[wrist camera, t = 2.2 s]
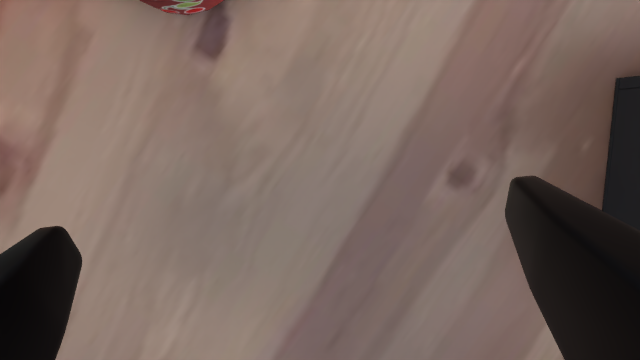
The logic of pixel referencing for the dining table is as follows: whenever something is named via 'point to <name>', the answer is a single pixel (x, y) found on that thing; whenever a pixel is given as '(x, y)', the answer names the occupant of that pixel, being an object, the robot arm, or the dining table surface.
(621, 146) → the crate
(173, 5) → the smoothie
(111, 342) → the dining table surface
